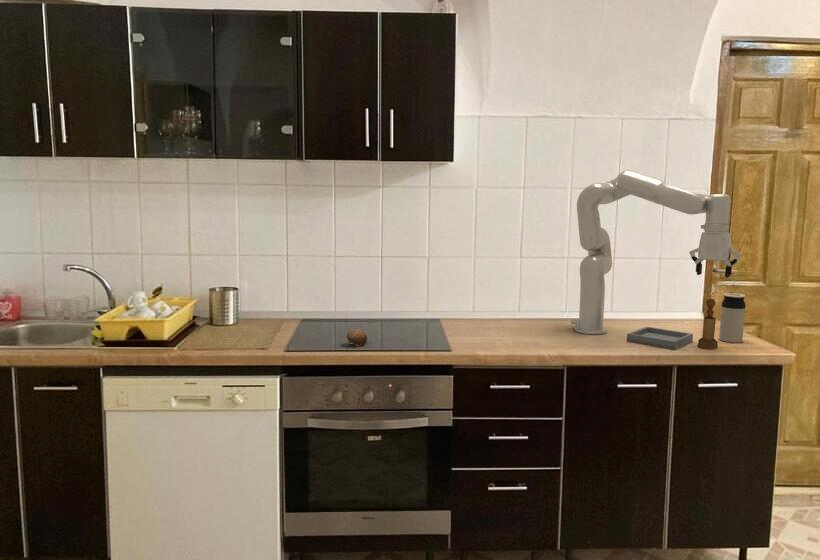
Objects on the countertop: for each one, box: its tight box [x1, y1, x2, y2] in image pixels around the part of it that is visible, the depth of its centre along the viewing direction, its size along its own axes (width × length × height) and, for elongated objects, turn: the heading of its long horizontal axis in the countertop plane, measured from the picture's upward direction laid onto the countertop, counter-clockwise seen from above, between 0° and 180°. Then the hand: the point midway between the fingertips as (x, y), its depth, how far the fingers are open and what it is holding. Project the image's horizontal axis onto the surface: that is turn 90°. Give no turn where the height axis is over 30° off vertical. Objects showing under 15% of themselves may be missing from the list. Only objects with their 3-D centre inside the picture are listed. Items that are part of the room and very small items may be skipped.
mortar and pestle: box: [697, 298, 718, 350], centre depth 224 cm, size 7×6×18 cm
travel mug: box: [718, 292, 747, 344], centre depth 234 cm, size 8×8×18 cm
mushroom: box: [346, 328, 368, 347], centre depth 225 cm, size 8×8×6 cm
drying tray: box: [626, 326, 694, 351], centre depth 233 cm, size 18×18×3 cm
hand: (713, 275), depth 222 cm, fingers open, 9 cm apart
